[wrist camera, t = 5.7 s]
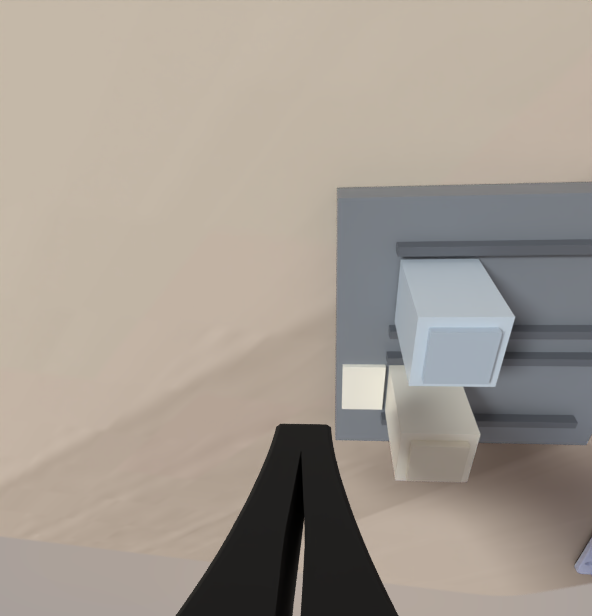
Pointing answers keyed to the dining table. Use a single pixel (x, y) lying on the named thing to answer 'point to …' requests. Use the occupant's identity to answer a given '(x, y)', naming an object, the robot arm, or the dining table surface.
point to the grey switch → (451, 323)
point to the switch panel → (507, 278)
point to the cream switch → (429, 430)
